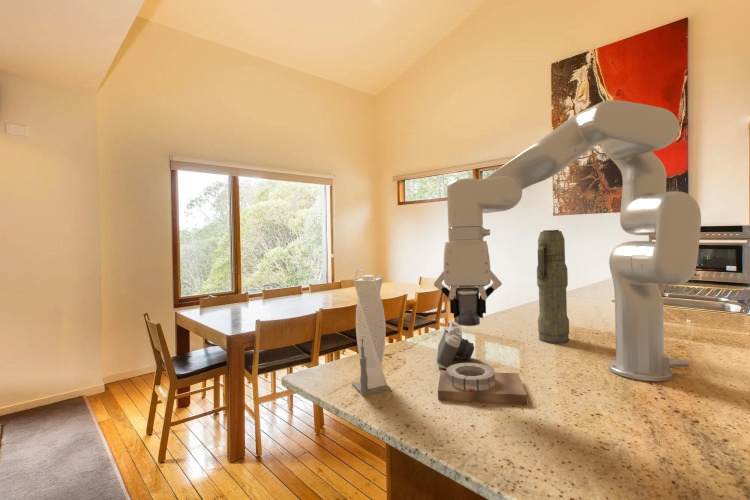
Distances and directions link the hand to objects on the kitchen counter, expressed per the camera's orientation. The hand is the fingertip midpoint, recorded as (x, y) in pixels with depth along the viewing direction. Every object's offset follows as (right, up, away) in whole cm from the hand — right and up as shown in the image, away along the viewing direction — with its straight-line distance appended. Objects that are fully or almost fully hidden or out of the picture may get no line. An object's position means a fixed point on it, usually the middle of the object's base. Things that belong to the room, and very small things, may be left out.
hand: (468, 315), depth 84 cm
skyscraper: (-22, -18, +6) cm, 29 cm away
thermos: (+36, -14, +36) cm, 53 cm away
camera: (+2, -16, +21) cm, 26 cm away
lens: (0, -2, 0) cm, 2 cm away
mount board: (+3, -17, 0) cm, 17 cm away
